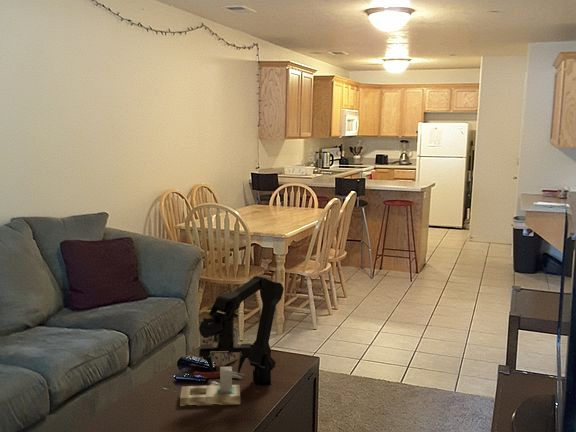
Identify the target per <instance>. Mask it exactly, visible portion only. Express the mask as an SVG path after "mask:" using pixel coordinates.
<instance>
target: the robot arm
mask: <svg viewBox="0 0 576 432" xmlns="http://www.w3.org/2000/svg"><path fill="white" fill-rule="evenodd" d="M258 291H260V297H261V302H262V307H261V312H260V318H259V322H258V328H257V333H256V339H255V341H254V342H253V343H252V344H251V343H240V346H238V347H234V326H235V318H238V317H239V315H238V313H236V312H237V310H238V309H239V308H240V307H241V303H243V302H244V301H246V300H248V298H250V297H251V296H253V295H254V294H255V293H256V292H258ZM283 293H284V285H283V284H282V283H281V282H278V281H273V280H270V279H267V277H264V276H260V275H255V276H253V277H252V279H250V280H248V281H247V282H244V284H242V285H241V286H239V287H238V288H236V289H235V290H233V291H231V292H226V293H222V294H220V295H218V296H217V297H216V299H215V300H214V303H213V305H212V307H211V309H210V311H209V313H208V317H206V316H205V317H204V318H203V319H202V321H201V322H200V324H199V326H198V330H199V335H200V334H201V335H202V336H203V337H204V338H208V337H211V336H214V342H218V347H211V344H203V345H200V344H199V349H198V356H199V358H200V357H203V359H206V361H207V362H208V364H209V366H210V369H209V370H210V372H212V374H213V372H214V370H213V361H212V353H233V352H238V353H239V356H238V357H239V358H238V359H239V360H238V366H237V373H240V372H241V371H242V370H241V369H242V366H243V364H244V362H245V360H246V359H247V360H248V362H249V364H250V366H251V367H253V369H252V382H253V383H254V384H253V385H254V386H270V385H272V371H273V369H275V368H276V364H277V362H276V360H274V359H273V358H272V357H271V356H272V348H271V346H270V344H269V343H270V336H271V331H272V327H273V322H274V316H275V310H276V307H277V305H278V304H279V302H280V301H281V299H282V297H283Z"/></svg>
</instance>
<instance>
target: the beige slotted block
mask: <svg viewBox="0 0 576 432" xmlns="http://www.w3.org/2000/svg"><path fill="white" fill-rule="evenodd" d="M212 404H220V405H219V406H222V405H223V406H225V405H226V406H227V405H228V406H229V405H241V385H240V384H232V392H228V393H220V384H218V385H217V384H216V385H185V386H184V385H183V386H181V391H180V397H179V406H180V407H186V406H185V405H197V406H213V405H212Z"/></svg>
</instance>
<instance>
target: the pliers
mask: <svg viewBox="0 0 576 432" xmlns="http://www.w3.org/2000/svg"><path fill="white" fill-rule="evenodd" d="M216 369H217V371H219V372H217V371H213V374H212V372H211V371H210V372H204V371H203V372H201V371H193V372H192V376H193V375H201V376H204V377H207V378H206V379H218V378H217V377H220V367H219V366H217V365H216ZM246 376H247V375H246V374H244V373H240V372H239V373H238V372H236V371H232V379H238V380H239V379H242V380H244V377H246Z"/></svg>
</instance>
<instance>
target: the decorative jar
mask: <svg viewBox="0 0 576 432" xmlns="http://www.w3.org/2000/svg"><path fill="white" fill-rule="evenodd" d="M238 334H239V332H238V329H237V327H236V326H235V325H234V347H239V337H238ZM203 344H211V347H218V342H214V336H211V337H208V338H204V337H203V336H202V335H201V334H200V333H199V346H200V345H203ZM238 357H239V352H233V353H212V361H213V362H214V363H216V364H217V365H218V366H219V367H226V365H228V364H231V363H233V362H236V361H237V360H238V359H239V358H238ZM199 359H203V357H199ZM204 360H206V359H204Z"/></svg>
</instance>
